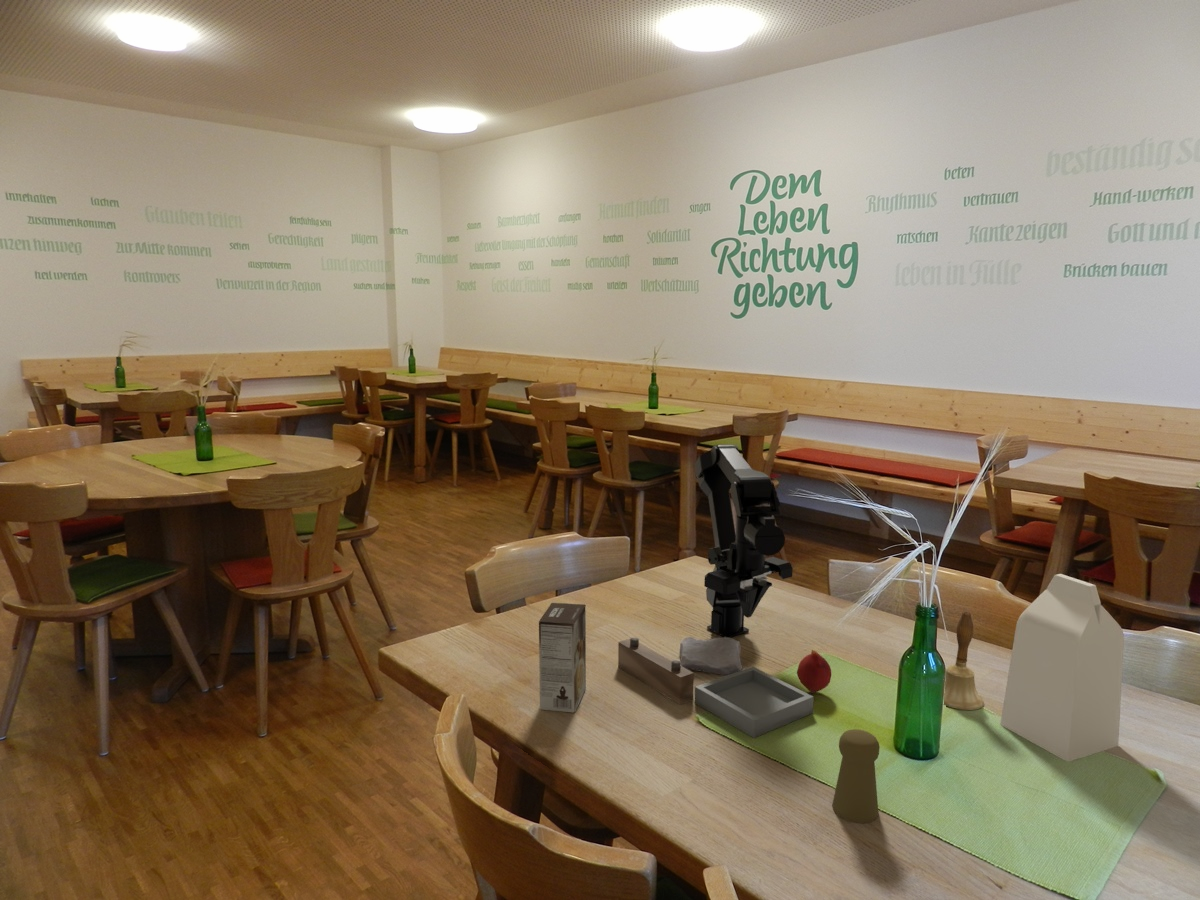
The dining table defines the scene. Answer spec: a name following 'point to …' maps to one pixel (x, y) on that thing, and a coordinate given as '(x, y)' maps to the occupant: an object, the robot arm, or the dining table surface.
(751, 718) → the tray
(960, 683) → the hand bell
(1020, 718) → the milk
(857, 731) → the brown peg figure
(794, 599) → the dining table surface
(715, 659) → the stone block
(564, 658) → the coffee box
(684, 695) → the bar
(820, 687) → the onion
